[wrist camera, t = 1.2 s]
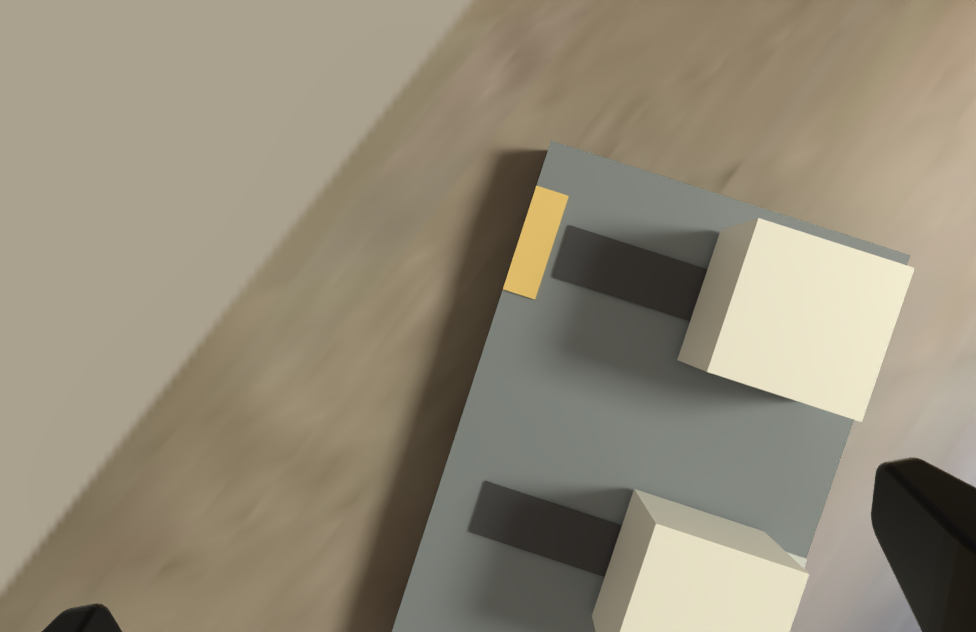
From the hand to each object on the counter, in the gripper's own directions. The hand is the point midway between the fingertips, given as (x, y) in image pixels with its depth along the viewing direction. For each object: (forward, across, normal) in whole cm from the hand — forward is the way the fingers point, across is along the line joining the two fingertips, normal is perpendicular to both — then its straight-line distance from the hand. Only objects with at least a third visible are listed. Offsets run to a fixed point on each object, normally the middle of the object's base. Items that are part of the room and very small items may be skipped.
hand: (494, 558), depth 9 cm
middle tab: (+9, -4, +12) cm, 16 cm away
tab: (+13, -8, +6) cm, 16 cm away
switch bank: (+11, -3, +12) cm, 17 cm away
